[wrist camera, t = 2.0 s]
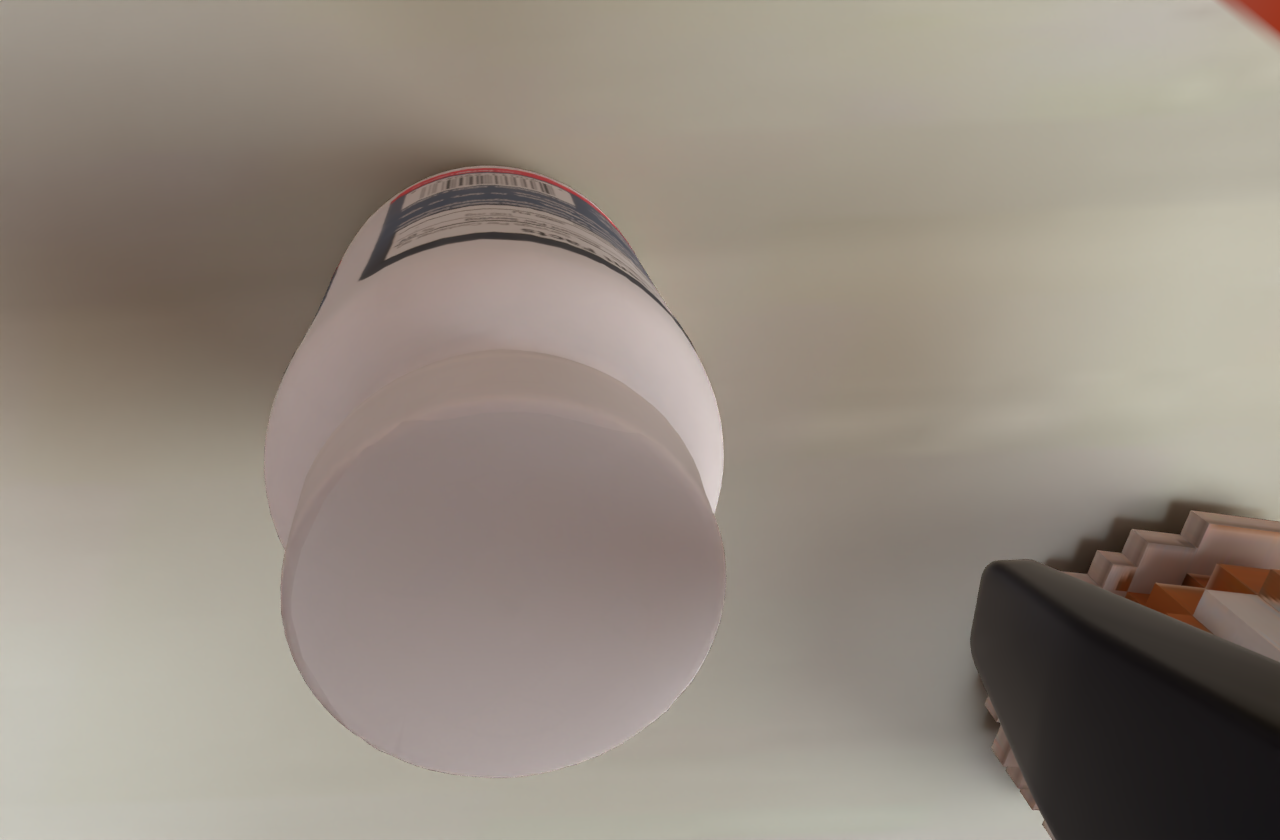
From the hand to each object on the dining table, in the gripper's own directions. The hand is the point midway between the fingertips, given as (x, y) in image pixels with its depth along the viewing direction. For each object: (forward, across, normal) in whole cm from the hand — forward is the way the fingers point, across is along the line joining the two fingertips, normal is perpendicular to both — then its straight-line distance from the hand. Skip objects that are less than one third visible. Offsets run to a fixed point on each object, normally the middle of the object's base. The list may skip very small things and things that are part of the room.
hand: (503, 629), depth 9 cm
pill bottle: (+9, 0, 0) cm, 9 cm away
